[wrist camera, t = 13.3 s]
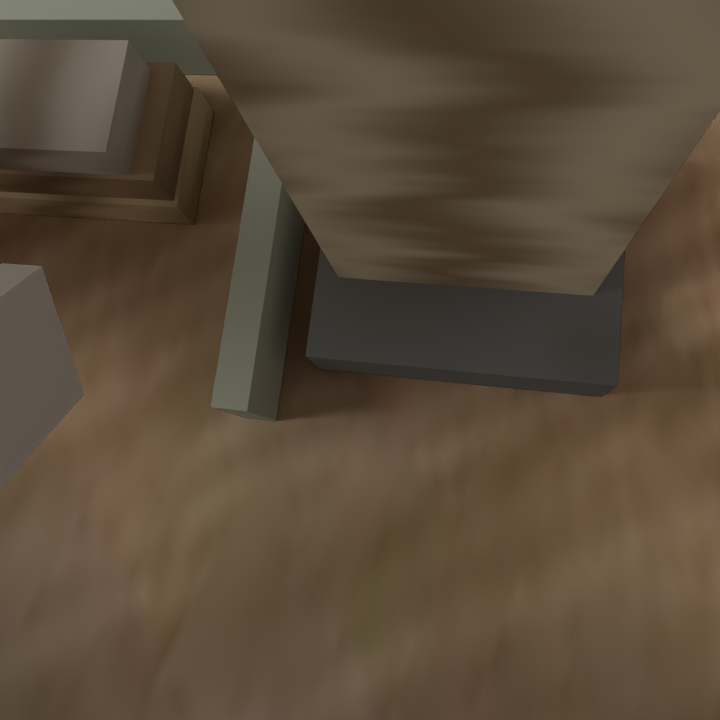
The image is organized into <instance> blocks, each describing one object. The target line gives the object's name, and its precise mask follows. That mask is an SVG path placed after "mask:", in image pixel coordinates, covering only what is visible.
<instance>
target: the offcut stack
mask: <svg viewBox="0 0 720 720" xmlns="http://www.w3.org/2000/svg"><path fill="white" fill-rule="evenodd" d="M213 115H214V110H213V109H212V107H211V106H210V104H209V103H208V101H207V100H206V98H205V97H204V95H203V94H202V92H201V91H200V89H199V88H198V87H192V86H191V84H190V83H189V81H188V80H187V78H186V77H185V75H184V74H183V72H182V71H181V69H180V68H179V66H178V65H177V63H176V62H144V60H143V59H142V58H141V56H140V55H139V54H138V52H137V51H136V50H135V48H134V47H133V46H132V44H131V43H130V42H129V40H31V39H0V213H12V214H29V215H46V216H62V217H79V218H96V219H112V220H129V221H146V222H163V223H179V224H195V218H196V212H197V207H198V201H199V195H200V189H201V184H202V178H203V172H204V167H205V161H206V155H207V150H208V144H209V138H210V132H211V127H212V121H213Z"/></svg>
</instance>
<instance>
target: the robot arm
mask: <svg viewBox="0 0 720 720" xmlns="http://www.w3.org/2000/svg"><path fill="white" fill-rule="evenodd" d="M83 395H84V392H83V389H82V386H81V383H80V380H79V377H78V374H77V371H76V368H75V365H74V362H73V359H72V356H71V353H70V350H69V347H68V344H67V341H66V338H65V335H64V332H63V329H62V326H61V323H60V320H59V317H58V314H57V311H56V308H55V305H54V302H53V299H52V296H51V293H50V290H49V287H48V284H47V281H46V278H45V275H44V272H43V269H42V266H34V265H20V264H6V263H2V264H0V489H1V487H2V486H3V485H4V484H5V483H6V482H7V481H8V479H9V478H10V477H11V476H12V475H13V474H14V473H15V472H16V470H17V469H18V468H19V467H20V466H21V465H22V464H23V463H24V461H25V460H26V459H27V458H28V457H29V456H30V455H31V454H32V452H33V451H34V450H35V449H36V448H37V447H38V446H39V445H40V443H41V442H42V441H43V440H44V439H45V438H46V437H47V436H48V434H49V433H50V432H51V431H52V430H53V429H54V428H55V427H56V425H57V424H58V423H59V422H60V421H61V420H62V419H63V417H64V416H65V415H66V414H67V413H68V412H69V411H70V410H71V408H72V407H73V406H74V405H75V404H76V403H77V402H78V401H79V399H80V398H81V397H82V396H83Z"/></svg>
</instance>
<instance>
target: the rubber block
mask: <svg viewBox="0 0 720 720" xmlns="http://www.w3.org/2000/svg"><path fill="white" fill-rule="evenodd" d="M624 260H625V250H624V251H623V253H622V254H621V256H620V257H619V259H618V260H617V262H616V263H615V264H614V266H613V267H612V269H611V270H610V272H609V273H608V275H607V276H606V278H605V279H604V281H603V282H602V284H601V285H600V286H599V288H598V289H597V291H596V292H595V294H594V295H593V296H589V295H575V294H562V293H548V292H534V291H520V290H506V289H492V288H478V287H464V286H450V285H437V284H423V283H409V282H395V281H381V280H367V279H353V278H339V277H338V276H337V274H336V272H335V271H334V269H333V267H332V266H331V264H330V262H329V261H328V259H327V257H326V256H325V254H324V252H323V251H322V249H321V247H320V254H319V261H318V268H317V275H316V283H315V290H314V297H313V304H312V311H311V318H310V326H309V333H308V340H307V347H306V354H305V357H306V358H308V359H309V360H310V361H311V362H313V363H314V364H315V365H316V366H317V367H319V368H320V369H322V370H332V371H342V372H353V373H363V374H373V375H383V376H394V377H404V378H414V379H424V380H435V381H445V382H455V383H465V384H475V385H486V386H496V387H506V388H516V389H527V390H537V391H547V392H557V393H568V394H578V395H588V396H598V397H601V396H603V395H604V394H606V393H607V392H609V391H611V390H612V389H614V388H615V387H617V385H618V367H619V349H620V331H621V314H622V296H623V278H624Z"/></svg>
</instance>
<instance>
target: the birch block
mask: <svg viewBox="0 0 720 720" xmlns="http://www.w3.org/2000/svg"><path fill="white" fill-rule="evenodd" d="M172 1H173V3H174V4H175V6H176V8H177V9H178V11H179V13H180V14H181V16H182V18H183V19H184V21H185V23H186V24H187V26H188V28H189V29H190V31H191V33H192V34H193V36H194V38H195V39H196V41H197V43H198V44H199V46H200V48H201V49H202V51H203V53H204V54H205V56H206V58H207V59H208V61H209V63H210V64H211V66H212V68H213V69H214V71H215V73H216V74H217V76H218V78H219V79H220V81H221V83H222V84H223V86H224V88H225V89H226V91H227V93H228V94H229V96H230V98H231V99H232V101H233V103H234V104H235V106H236V107H237V109H238V111H239V112H240V114H241V116H242V117H243V119H244V121H245V122H246V124H247V126H248V127H249V129H250V131H251V132H252V134H253V136H254V137H255V139H256V141H257V142H258V144H259V146H260V147H261V149H262V151H263V152H264V154H265V156H266V157H267V159H268V161H269V162H270V164H271V166H272V167H273V169H274V171H275V172H276V174H277V176H278V177H279V179H280V181H281V182H282V184H283V186H284V187H285V189H286V191H287V192H288V194H289V196H290V197H291V199H292V201H293V202H294V204H295V206H296V207H297V209H298V211H299V212H300V214H301V216H302V217H303V219H304V221H305V222H306V224H307V226H308V227H309V229H310V231H311V232H312V234H313V236H314V237H315V239H316V241H317V242H318V244H319V246H320V247H321V249H322V251H323V252H324V254H325V256H326V257H327V259H328V261H329V262H330V264H331V266H332V267H333V269H334V271H335V272H336V274H337V276H338V277H339V278H353V279H367V280H381V281H395V282H409V283H423V284H437V285H450V286H464V287H478V288H492V289H506V290H520V291H534V292H548V293H562V294H575V295H589V296H593V295H594V294H595V292H596V291H597V289H598V288H599V286H600V285H601V284H602V282H603V281H604V279H605V278H606V276H607V275H608V273H609V272H610V270H611V269H612V267H613V266H614V264H615V263H616V262H617V260H618V259H619V257H620V256H621V254H622V253H623V251H624V250H625V248H626V247H627V245H628V244H629V243H630V241H631V240H632V238H633V237H634V235H635V234H636V232H637V231H638V229H639V228H640V226H641V225H642V224H643V222H644V221H645V219H646V218H647V216H648V215H649V213H650V212H651V210H652V209H653V207H654V206H655V205H656V203H657V202H658V200H659V199H660V197H661V196H662V194H663V193H664V191H665V190H666V188H667V187H668V185H669V184H670V183H671V181H672V180H673V178H674V177H675V175H676V174H677V172H678V171H679V169H680V168H681V166H682V165H683V164H684V162H685V161H686V159H687V158H688V156H689V155H690V153H691V152H692V150H693V149H694V147H695V146H696V145H697V143H698V142H699V140H700V139H701V137H702V136H703V134H704V133H705V131H706V130H707V128H708V127H709V126H710V124H711V123H712V121H713V120H714V118H715V117H716V115H717V114H718V112H719V111H720V0H172Z"/></svg>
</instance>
